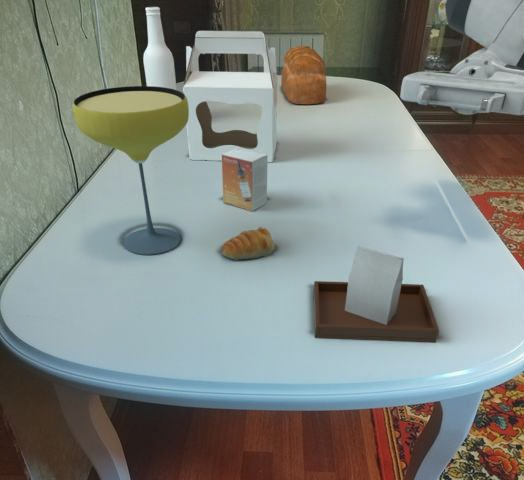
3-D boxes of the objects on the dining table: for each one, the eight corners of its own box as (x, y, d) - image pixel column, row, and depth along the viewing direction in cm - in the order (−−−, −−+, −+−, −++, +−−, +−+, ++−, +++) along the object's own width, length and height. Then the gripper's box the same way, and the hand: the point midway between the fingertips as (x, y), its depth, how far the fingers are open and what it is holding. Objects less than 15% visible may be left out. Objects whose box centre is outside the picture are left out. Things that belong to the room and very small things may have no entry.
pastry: (232, 266, 89) (231, 247, 86) (215, 251, 93) (214, 232, 91) (278, 253, 92) (278, 234, 90) (259, 239, 97) (259, 220, 94)
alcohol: (157, 127, 155) (142, 9, 136) (147, 120, 161) (132, 6, 142) (183, 123, 158) (173, 8, 139) (173, 116, 164) (161, 5, 145)
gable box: (188, 160, 132) (176, 34, 114) (198, 144, 142) (188, 26, 124) (273, 162, 130) (275, 35, 112) (277, 146, 140) (279, 27, 123)
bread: (315, 87, 196) (317, 41, 186) (327, 104, 176) (331, 53, 166) (279, 88, 195) (280, 42, 185) (288, 105, 175) (289, 54, 165)
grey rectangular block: (386, 324, 74) (397, 264, 68) (344, 310, 77) (351, 251, 71) (395, 312, 77) (407, 253, 70) (355, 299, 79) (362, 241, 73)
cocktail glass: (216, 248, 94) (206, 102, 78) (123, 275, 86) (91, 119, 71) (175, 213, 106) (160, 81, 90) (90, 234, 98) (57, 94, 83)
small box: (222, 203, 110) (220, 154, 103) (238, 195, 114) (236, 146, 107) (252, 212, 106) (252, 161, 100) (267, 203, 110) (268, 153, 103)
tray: (420, 295, 81) (423, 284, 80) (436, 342, 72) (439, 330, 71) (313, 292, 82) (314, 280, 81) (314, 337, 73) (315, 326, 71)
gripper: (417, 58, 89) (391, 72, 80) (542, 70, 81) (530, 87, 72) (410, 97, 93) (385, 115, 84) (529, 112, 85) (516, 133, 76)
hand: (453, 102), depth 78 cm, fingers open, 8 cm apart
